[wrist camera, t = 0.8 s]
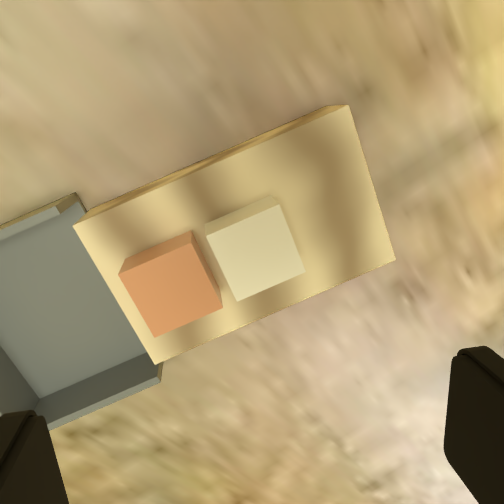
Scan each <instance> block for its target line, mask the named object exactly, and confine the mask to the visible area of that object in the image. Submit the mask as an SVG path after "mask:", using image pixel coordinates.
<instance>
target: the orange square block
mask: <svg viewBox="0 0 504 504" xmlns="http://www.w3.org/2000/svg"><path fill="white" fill-rule="evenodd" d="M118 276H119V277H120V279H121V281H122V283H123V284H124V286H125V288H126V290H127V291H128V293H129V295H130V297H131V298H132V300H133V302H134V303H135V305H136V307H137V309H138V310H139V312H140V314H141V316H142V317H143V319H144V321H145V323H146V324H147V326H148V328H149V329H150V331H151V333H152V335H153V336H154V338H155V337H158V336H160V335H162V334H165V333H167V332H169V331H171V330H174V329H176V328H178V327H181V326H183V325H185V324H188V323H190V322H192V321H194V320H197V319H199V318H201V317H204V316H206V315H208V314H210V313H213V312H215V311H217V310H220V309H222V308H223V303H222V297H221V290H220V288H219V286H218V284H217V282H216V280H215V278H214V276H213V274H212V272H211V269H210V267H209V265H208V263H207V261H206V259H205V257H204V255H203V253H202V251H201V249H200V247H199V245H198V243H197V241H196V239H195V236H194V234H193V232H192V230H190V231H188V232H186V233H183V234H181V235H179V236H176V237H174V238H172V239H170V240H167V241H165V242H163V243H160V244H158V245H156V246H153V247H151V248H149V249H147V250H144V251H142V252H140V253H137V254H135V255H133V256H131V257H128V258H126V259H125V260H124V263H123V265H122V267H121V269H120V271H119V273H118Z"/></svg>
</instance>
